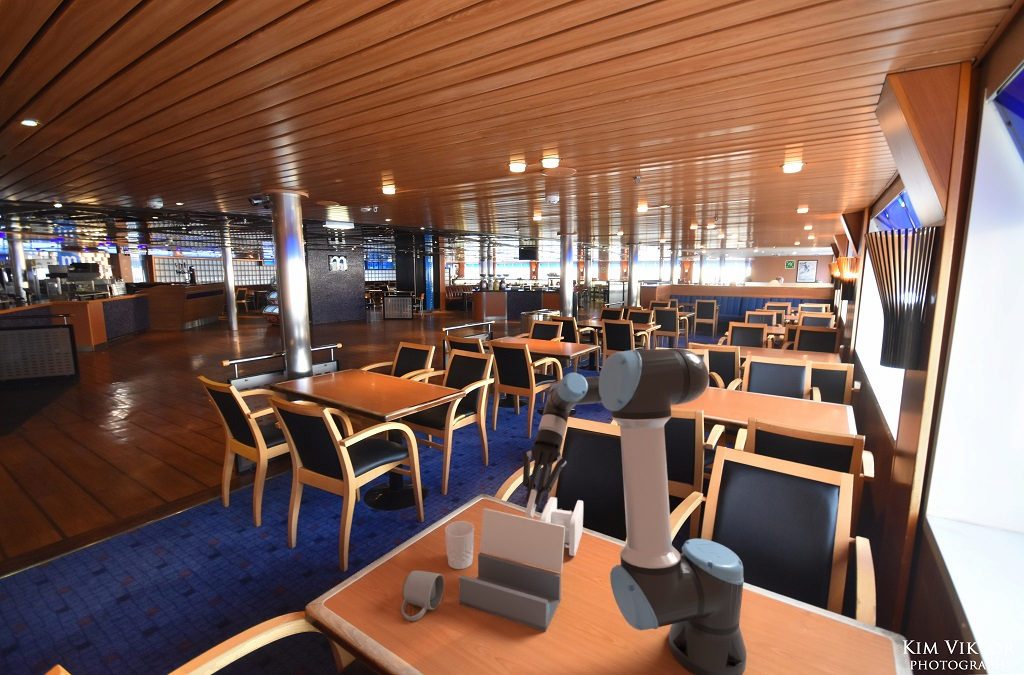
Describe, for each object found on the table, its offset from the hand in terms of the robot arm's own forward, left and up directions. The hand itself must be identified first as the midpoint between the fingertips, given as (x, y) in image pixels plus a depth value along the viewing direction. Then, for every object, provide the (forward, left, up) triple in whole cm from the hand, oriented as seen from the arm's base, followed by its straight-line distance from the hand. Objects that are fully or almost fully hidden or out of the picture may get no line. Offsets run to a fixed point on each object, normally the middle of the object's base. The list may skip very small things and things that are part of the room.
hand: (529, 515), depth 124 cm
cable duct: (0, +13, -16) cm, 20 cm away
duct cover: (0, +6, -3) cm, 7 cm away
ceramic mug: (+19, +22, -16) cm, 33 cm away
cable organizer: (-4, -15, -16) cm, 23 cm away
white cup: (+19, +4, -16) cm, 25 cm away
